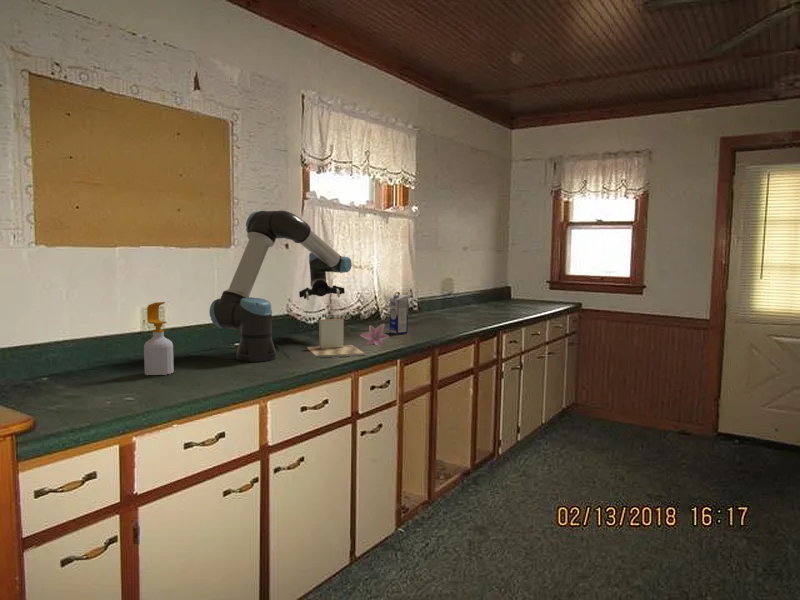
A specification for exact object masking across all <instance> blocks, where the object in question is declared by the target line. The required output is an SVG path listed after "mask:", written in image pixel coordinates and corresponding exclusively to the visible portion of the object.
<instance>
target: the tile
mask: <svg viewBox="0 0 800 600" xmlns="http://www.w3.org/2000/svg"><path fill="white" fill-rule="evenodd" d="M318 321H319V322H318V323H319V324H318V327H319V328H318V330H319V331H318V334H319V336H318V340H319V342H318V346H319V348H320V349H323V348H344V344H345V341H344V340H345V339H344V338H345V332H344V331H345V327H344V325H345V320H344V318H331V319H330V318H328V319H326V318H325V319H318Z"/></svg>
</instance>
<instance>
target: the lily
mask: <svg viewBox="0 0 800 600" xmlns="http://www.w3.org/2000/svg"><path fill="white" fill-rule="evenodd" d="M368 327H369V328H368V330H369V331H365V332H363V333H361V334H360V335H359V336H360V337H362V338H363V339H366V340H368V341H367V345H374V344H375V345H376V346H377V347H378V348H380V349H382V348H383V345H384V344H383V340H385V339H388V338H390V337H391V336H390V335H389V334H387V333H384V331H385V323H382V324H380V325H378V326H377V327H376V328H375V327H374V326H373V325H370V324H369V326H368Z"/></svg>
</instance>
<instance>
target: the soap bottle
mask: <svg viewBox="0 0 800 600" xmlns="http://www.w3.org/2000/svg"><path fill="white" fill-rule="evenodd" d="M164 304H166V302H165V301H160V302H159V301H158V302H153V303H150V304H148V305H147V307H146V308H147V309H146V310H147V311H146V312H147V315H146V317H147V319H146V320H147V323H149V324H153V327H155V329H154V330H152V337H151V338H150V339H148V340H147V341H145V343H144V345H143V356H144V357H143V358H144V359H143V361H144V362H143V363H144V364H143V365H144V375H145V376H148V375H165V376H168V375H167V374H169V375H172V374H173V373H174V369H175V367H174V344H173V342H172V340H170V339H169V338H166V337H165V336H164V334H165V331H164V329H162V326H163V324H167V321H164V320H160V317H159V315H160V313H159V312H160V309H159V308H160V306H161V305H164ZM171 373H172V374H171Z"/></svg>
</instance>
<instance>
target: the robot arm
mask: <svg viewBox="0 0 800 600" xmlns="http://www.w3.org/2000/svg"><path fill="white" fill-rule="evenodd" d="M245 227H246V228H245V231H246V237H247V239H248V241H247V244H246V246H245V249H244V250H243V253H242V255H241V259H240V261H239V263H238V266H237V267H236V270H235V273H234V274H233V277H232V280H231V282H230V285H229V287H228V288H227V289H226V290H224V291H223V292H222V294H221V296H220V298H217V299H214V300H213V301H212V302H211V304H210V307H209V311H208V313H209V317H210V320H211V322H212V323H213V325H215V326H216V327H218V328H221V329H224V330H228V329H229V330H236V331H237V330H238V331H240V341H239V344H238V347H237V351H236V360H237V361H240V360H241V362H247V361H249V362H252V363H254V362H257V363H258V361H259V362H269V361H272V360H276V358H277V350H276V347H275V344H274V342H273V338H272V334H273V333H272V332H273V331H272V329H273V326H272V325H273V324H272V323H273V320H272V317H273V316H272V315H273V311H272V303H271V301H269V300H267V299H265V298H261V297H251V293H252V290H253V287H254V285H255V283H256V279H257V277H258V275H259V272H260V270H261V267H262V265H263V263H264V261H265V257H266V255H267V252H268V250H269V248H272V247H274V245H275V243H276V241H277V240H276V239H285V240H286V239H287V240H290V241H292V242H294V243H295V244H300V245H301V246H302V247H304V248H305V249H307V250H308V251H309V255H308V258H309V259H308V264H309V273H310V274H309V275H310V286H311V288H309V287H305V288H304V289H302V290H300V291H299V292H298V293H299V295H298V296H299V298H303V299H305V300H307V301H309V300H310V298H309V297H310V296H317V297H325V296H326V295H330V294H334V295H336V296H337V298H341V295H342V294H343V295H344V294H345V291H346V290H345V287H342V286H337V285H335V284H334V285H331V286H332V287H331V286H330V285H329V284H328V281H327V273H340V274H341V273H349V272H350V271H351V269H352V266H353V265H352V264H353V263H352V259H351V258H350V257H349V256H342V255H340V253H338V252H337V251H336V250H335V249H333V248H332V246H330V245H329V244H327V242H325V241H324V240H323V239H322V238H321V237H320V236H319V235H317V234H316V233H315V232H314V231H313V230H312V228H311V226H310V224H308V223H307V222H306V221H305V220H304V219H302V218H301V217H299V216H297V215H296V214H294V213H292V212H289V211H287V210H259V211H255V212H252V213H251V214H250V215H249V216H248V217H247V220H246V222H245Z"/></svg>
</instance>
